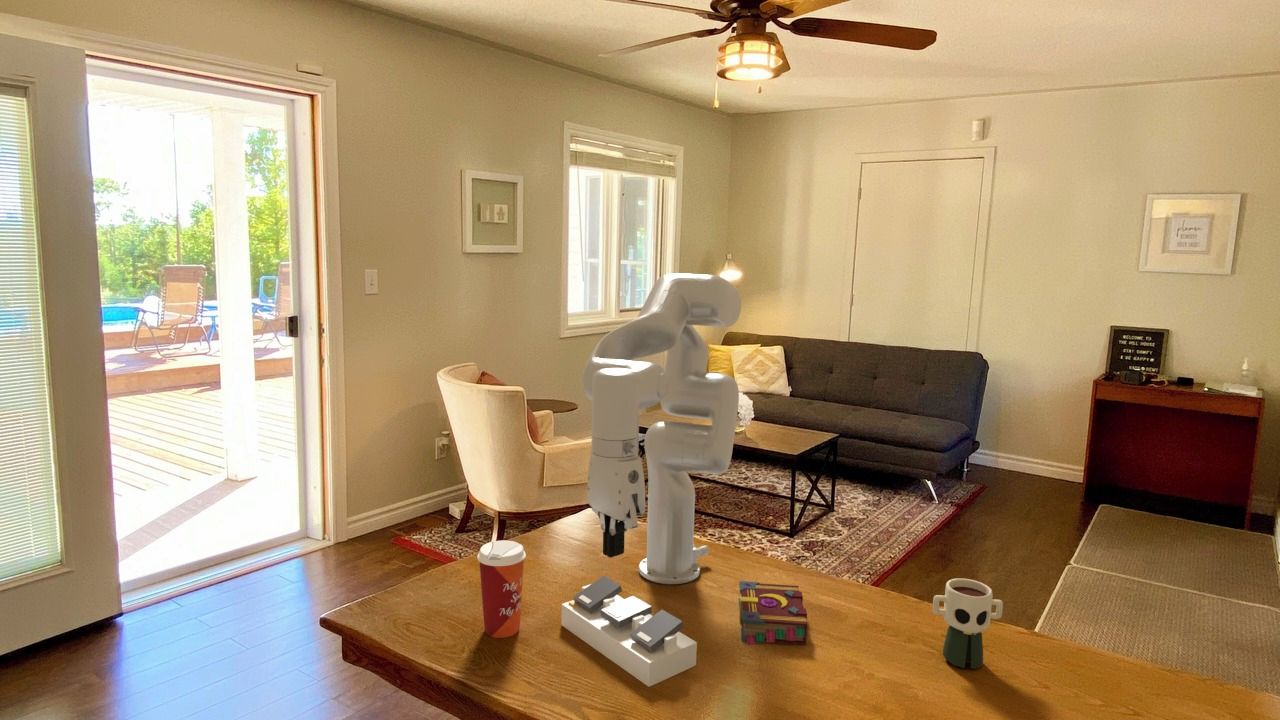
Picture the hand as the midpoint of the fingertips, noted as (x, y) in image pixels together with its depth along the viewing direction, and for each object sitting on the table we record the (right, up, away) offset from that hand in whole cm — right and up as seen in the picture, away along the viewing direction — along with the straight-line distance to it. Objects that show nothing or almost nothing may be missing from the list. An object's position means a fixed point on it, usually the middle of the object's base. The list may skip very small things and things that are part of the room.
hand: (613, 553), depth 128 cm
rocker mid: (+2, -11, +4) cm, 12 cm away
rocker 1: (-3, -10, +10) cm, 14 cm away
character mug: (+58, -18, +2) cm, 61 cm away
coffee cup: (-20, -16, +9) cm, 26 cm away
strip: (+1, -16, +6) cm, 17 cm away
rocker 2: (+7, -12, -2) cm, 14 cm away
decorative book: (+28, -16, +12) cm, 35 cm away
